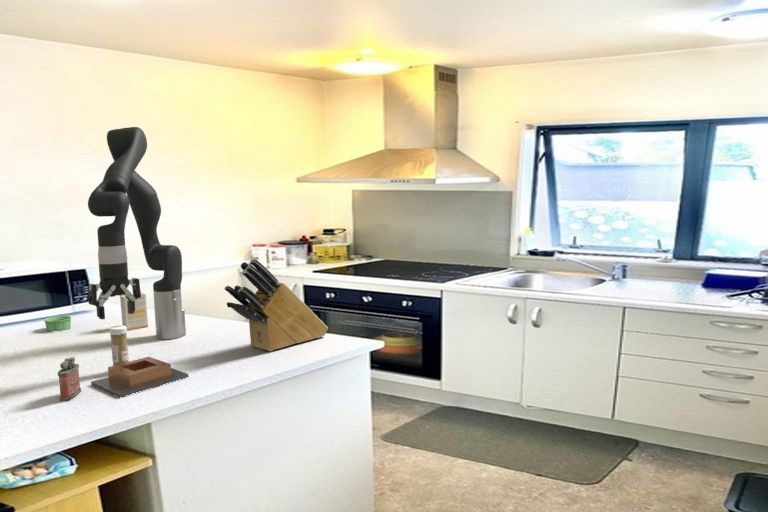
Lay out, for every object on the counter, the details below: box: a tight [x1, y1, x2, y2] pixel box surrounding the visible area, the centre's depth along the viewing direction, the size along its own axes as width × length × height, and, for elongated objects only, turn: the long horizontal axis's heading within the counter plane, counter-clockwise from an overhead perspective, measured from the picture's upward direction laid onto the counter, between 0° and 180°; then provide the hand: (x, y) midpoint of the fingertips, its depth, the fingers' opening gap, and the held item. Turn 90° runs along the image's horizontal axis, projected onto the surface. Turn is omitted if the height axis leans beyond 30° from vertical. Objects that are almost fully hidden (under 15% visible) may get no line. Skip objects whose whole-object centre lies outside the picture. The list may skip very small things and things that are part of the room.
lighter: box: [57, 356, 82, 402], centre depth 150 cm, size 8×3×10 cm, turn 5°
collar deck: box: [90, 356, 189, 399], centre depth 161 cm, size 20×16×4 cm
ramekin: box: [44, 315, 72, 332], centre depth 221 cm, size 9×9×4 cm
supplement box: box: [119, 292, 149, 331], centre depth 221 cm, size 8×5×13 cm, turn 132°
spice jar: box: [109, 325, 130, 366], centre depth 169 cm, size 5×5×14 cm
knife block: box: [224, 258, 329, 352], centre depth 195 cm, size 11×35×31 cm, turn 137°
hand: (116, 316), depth 168 cm, fingers open, 8 cm apart
